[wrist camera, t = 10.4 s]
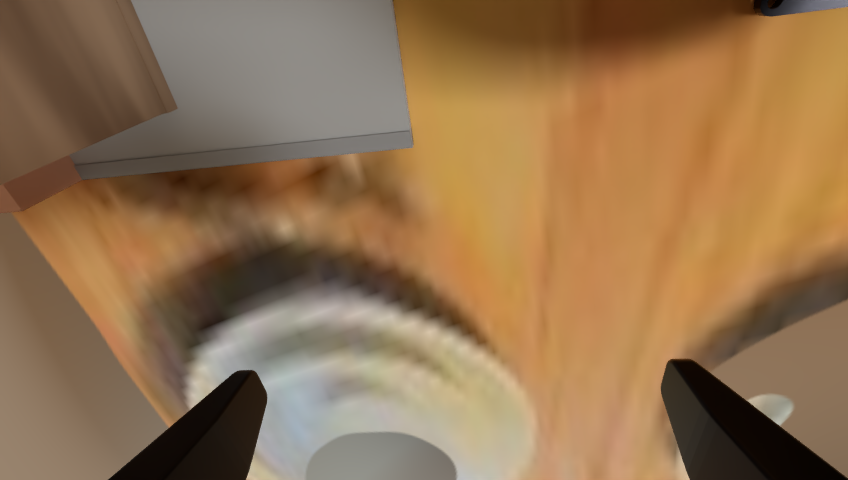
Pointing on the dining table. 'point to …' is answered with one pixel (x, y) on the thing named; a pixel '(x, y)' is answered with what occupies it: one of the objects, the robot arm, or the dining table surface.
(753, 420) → the robot arm
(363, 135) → the bay
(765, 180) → the dining table surface
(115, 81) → the brown wooden block
